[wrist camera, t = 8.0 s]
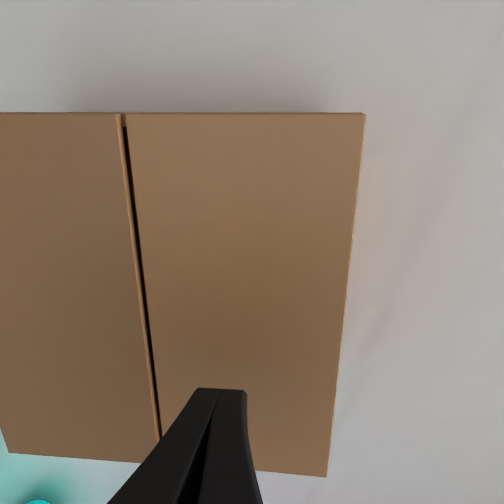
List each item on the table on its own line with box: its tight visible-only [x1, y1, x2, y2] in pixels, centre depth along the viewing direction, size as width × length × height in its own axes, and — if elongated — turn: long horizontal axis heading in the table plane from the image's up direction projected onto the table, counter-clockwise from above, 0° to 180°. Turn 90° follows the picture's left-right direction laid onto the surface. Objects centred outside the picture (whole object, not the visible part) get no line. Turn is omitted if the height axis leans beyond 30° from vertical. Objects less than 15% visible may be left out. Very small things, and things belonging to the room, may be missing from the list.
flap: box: [125, 114, 366, 477], centre depth 11 cm, size 6×13×1 cm, turn 0°
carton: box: [0, 112, 363, 463], centre depth 15 cm, size 13×13×8 cm
